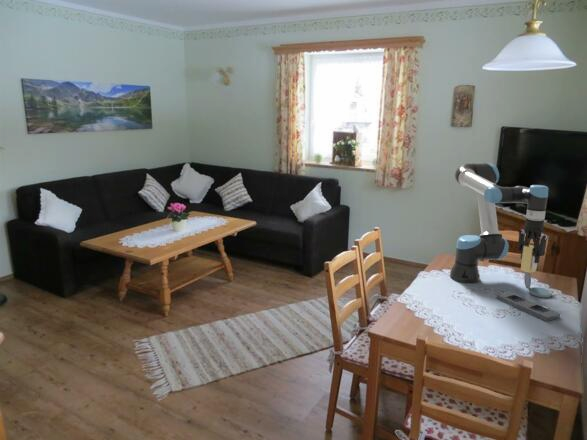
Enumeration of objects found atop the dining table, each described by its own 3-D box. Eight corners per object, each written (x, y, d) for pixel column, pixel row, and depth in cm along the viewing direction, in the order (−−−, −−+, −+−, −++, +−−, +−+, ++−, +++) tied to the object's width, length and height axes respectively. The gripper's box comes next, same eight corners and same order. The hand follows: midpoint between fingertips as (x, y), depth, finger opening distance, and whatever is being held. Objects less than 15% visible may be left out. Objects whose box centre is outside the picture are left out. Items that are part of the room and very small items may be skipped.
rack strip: (496, 298, 209) (496, 294, 208) (508, 295, 213) (509, 291, 212) (546, 321, 186) (547, 317, 186) (559, 317, 190) (560, 313, 189)
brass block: (520, 270, 202) (523, 245, 200) (526, 268, 204) (530, 244, 201) (529, 272, 198) (532, 248, 196) (535, 271, 200) (539, 247, 198)
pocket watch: (528, 267, 221) (562, 274, 211) (525, 287, 223) (558, 295, 214) (523, 272, 213) (557, 280, 204) (520, 292, 216) (553, 301, 206)
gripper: (512, 216, 202) (506, 263, 207) (548, 223, 186) (541, 274, 191) (523, 214, 205) (517, 261, 210) (558, 222, 190) (551, 272, 195)
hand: (528, 267), depth 201 cm, fingers closed on brass block, 4 cm apart
